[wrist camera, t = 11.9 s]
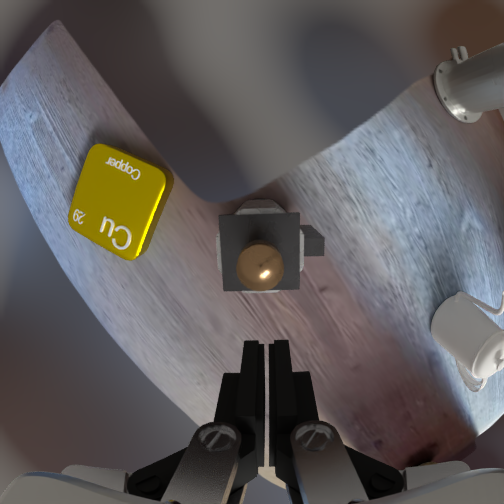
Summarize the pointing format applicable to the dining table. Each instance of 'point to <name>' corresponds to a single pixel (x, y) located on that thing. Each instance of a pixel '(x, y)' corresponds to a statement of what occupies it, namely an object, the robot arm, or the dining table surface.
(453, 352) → the coffeepot
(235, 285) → the grey faceted container
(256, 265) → the plunger
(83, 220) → the element tile
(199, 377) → the dining table surface
